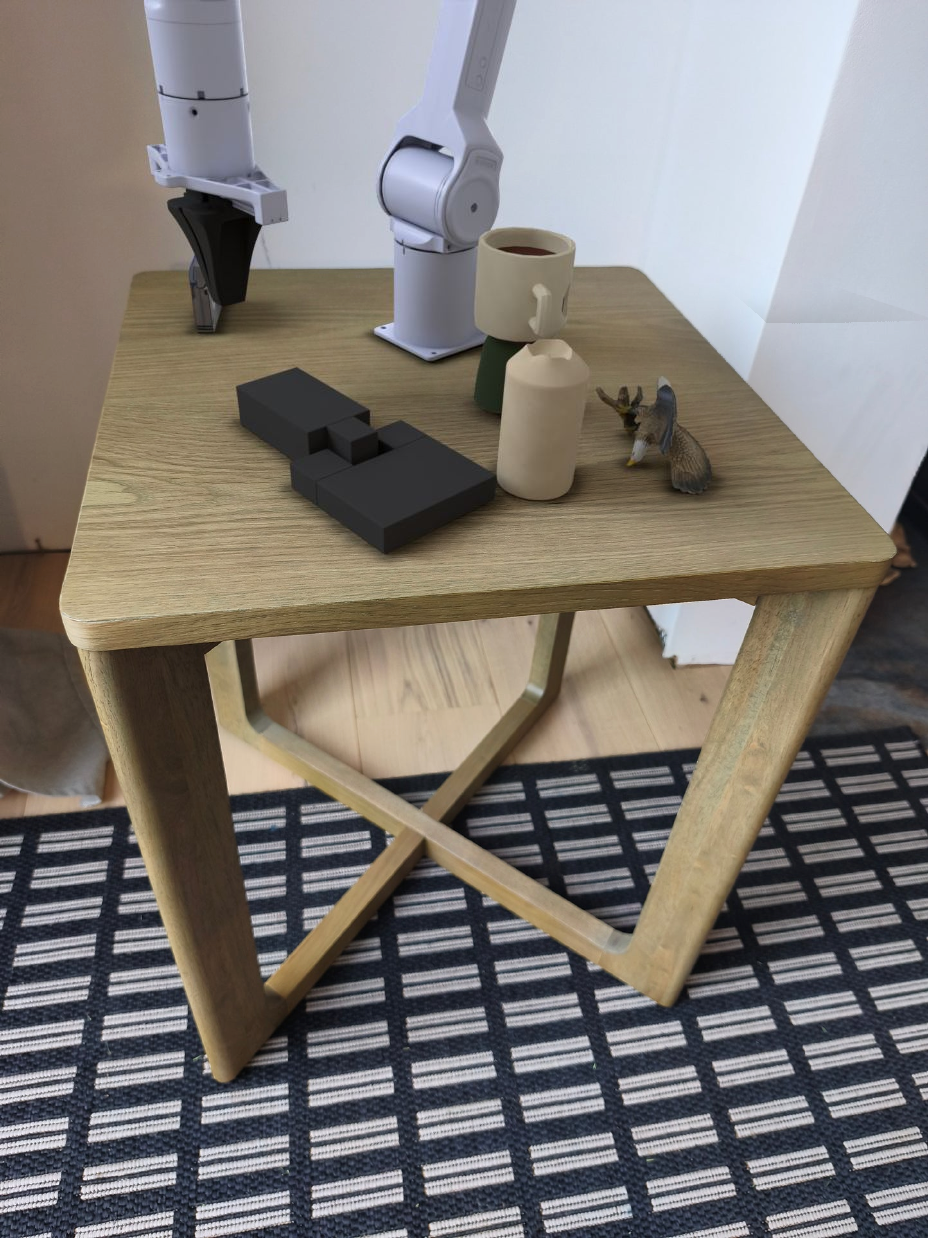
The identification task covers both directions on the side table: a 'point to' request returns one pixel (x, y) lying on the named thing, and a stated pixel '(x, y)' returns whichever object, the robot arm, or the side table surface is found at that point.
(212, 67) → the robot arm
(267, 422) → the black t-shaped block
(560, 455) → the beige bottle vase
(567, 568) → the side table surface
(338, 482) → the base pad
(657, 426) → the eagle figurine
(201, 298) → the mini dv tape
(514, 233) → the character mug
